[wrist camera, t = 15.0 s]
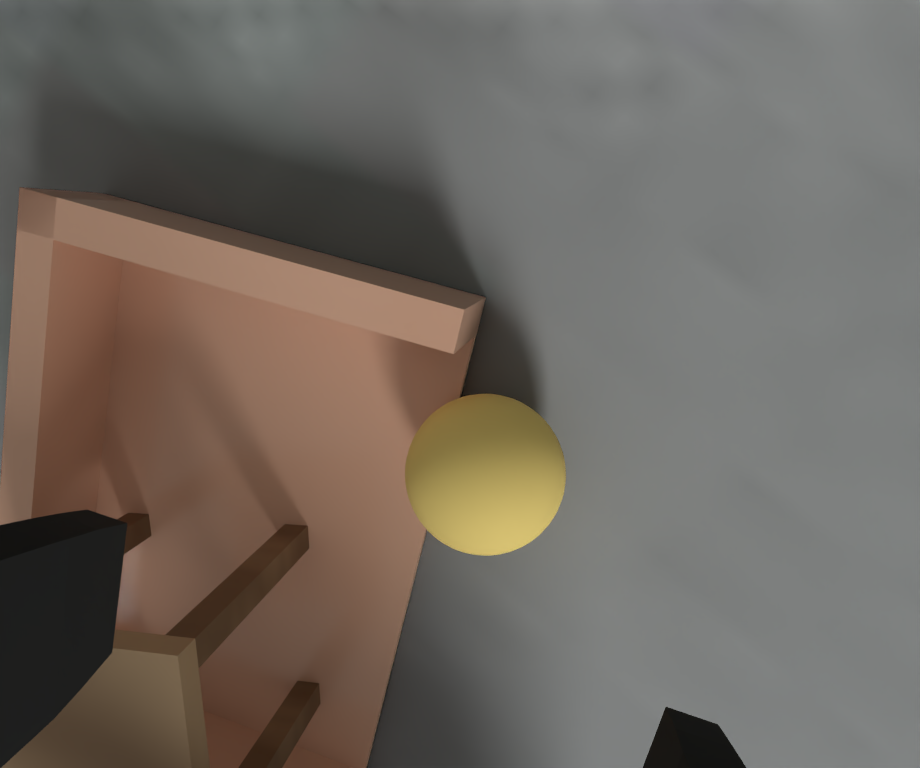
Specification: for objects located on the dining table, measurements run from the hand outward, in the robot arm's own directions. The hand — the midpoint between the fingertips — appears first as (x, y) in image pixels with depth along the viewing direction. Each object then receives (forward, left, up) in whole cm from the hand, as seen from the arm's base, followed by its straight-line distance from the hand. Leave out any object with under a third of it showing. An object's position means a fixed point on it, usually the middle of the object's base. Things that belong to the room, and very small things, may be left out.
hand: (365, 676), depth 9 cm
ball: (0, +1, -7) cm, 7 cm away
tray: (-4, +7, -10) cm, 13 cm away
